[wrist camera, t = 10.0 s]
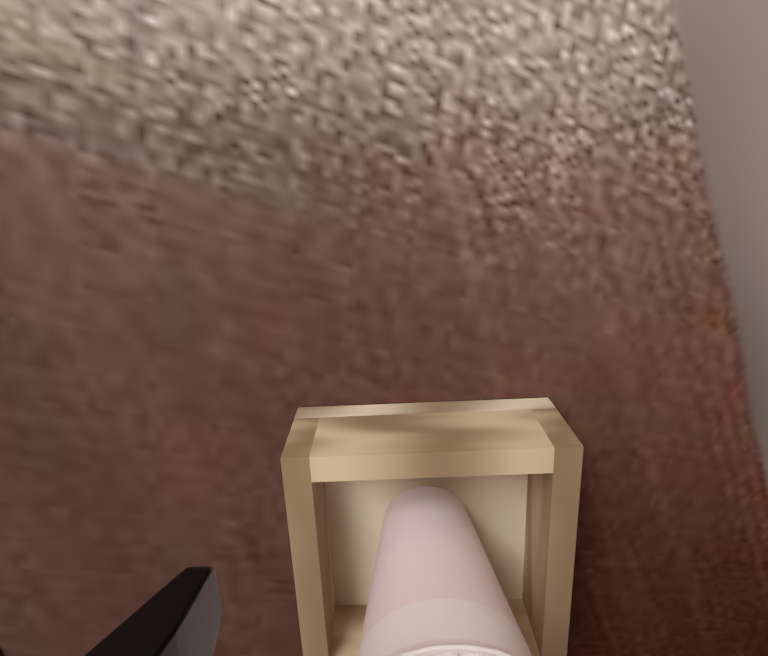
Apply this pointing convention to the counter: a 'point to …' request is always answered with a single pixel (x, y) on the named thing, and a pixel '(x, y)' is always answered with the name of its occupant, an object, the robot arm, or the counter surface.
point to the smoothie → (435, 585)
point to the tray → (443, 470)
